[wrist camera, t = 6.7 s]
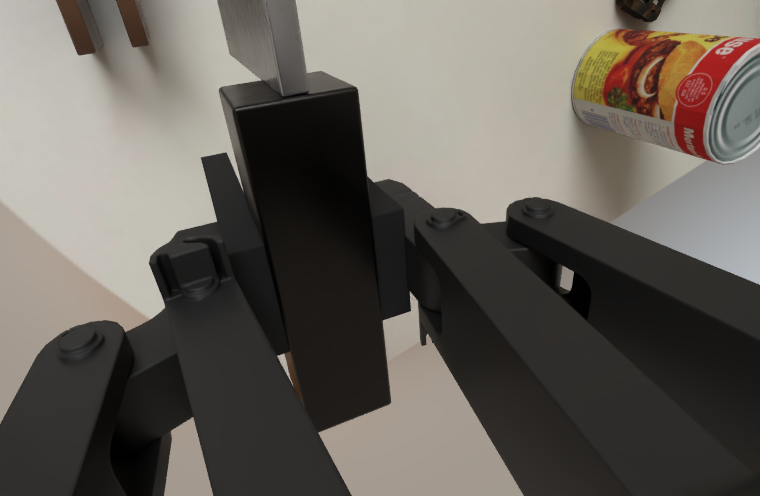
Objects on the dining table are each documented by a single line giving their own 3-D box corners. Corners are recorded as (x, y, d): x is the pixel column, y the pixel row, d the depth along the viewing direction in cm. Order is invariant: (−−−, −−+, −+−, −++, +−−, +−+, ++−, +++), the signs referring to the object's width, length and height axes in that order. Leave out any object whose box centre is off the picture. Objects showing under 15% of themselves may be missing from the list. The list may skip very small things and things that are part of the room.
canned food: (658, 51, 41) (814, 69, 31) (611, 137, 43) (743, 178, 34) (604, 11, 37) (764, 17, 27) (555, 107, 39) (687, 144, 30)
